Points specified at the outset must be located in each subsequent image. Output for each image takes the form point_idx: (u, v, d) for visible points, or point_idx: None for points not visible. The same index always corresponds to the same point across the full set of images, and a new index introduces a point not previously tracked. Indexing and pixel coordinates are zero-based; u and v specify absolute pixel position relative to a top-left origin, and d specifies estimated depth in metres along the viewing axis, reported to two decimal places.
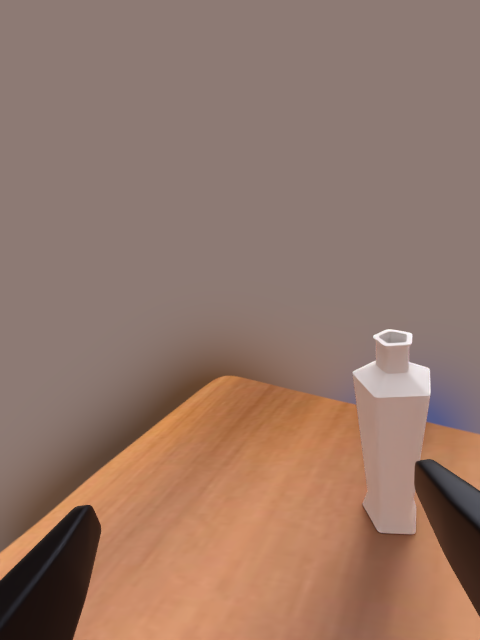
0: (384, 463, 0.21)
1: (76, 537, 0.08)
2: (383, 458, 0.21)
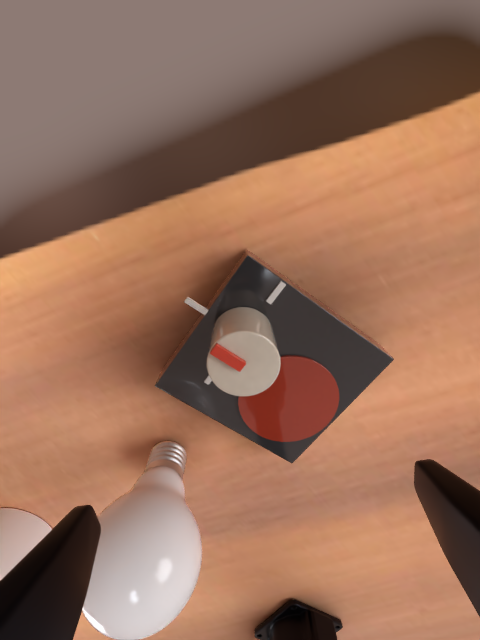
0: None
1: (76, 537, 0.08)
2: None
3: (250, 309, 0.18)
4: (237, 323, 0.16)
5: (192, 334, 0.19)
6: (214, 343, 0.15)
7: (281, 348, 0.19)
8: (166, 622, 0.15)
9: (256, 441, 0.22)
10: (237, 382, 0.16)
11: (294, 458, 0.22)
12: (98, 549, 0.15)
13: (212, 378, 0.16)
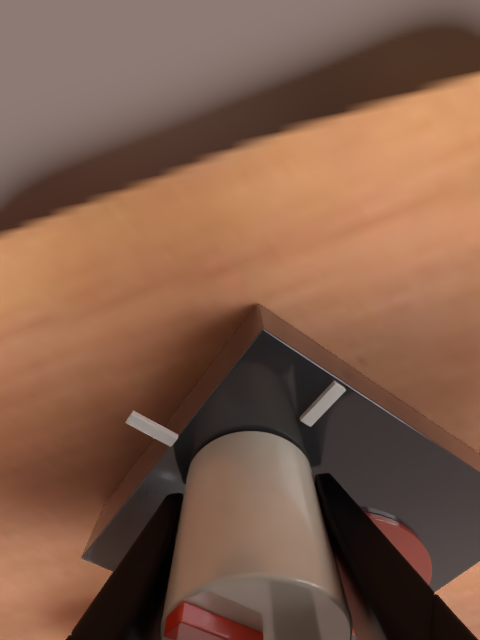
0: None
1: (177, 524, 0.08)
2: None
3: (267, 440, 0.08)
4: (241, 520, 0.06)
5: (147, 476, 0.09)
6: (178, 596, 0.06)
7: None
8: None
9: None
10: None
11: None
12: None
13: None
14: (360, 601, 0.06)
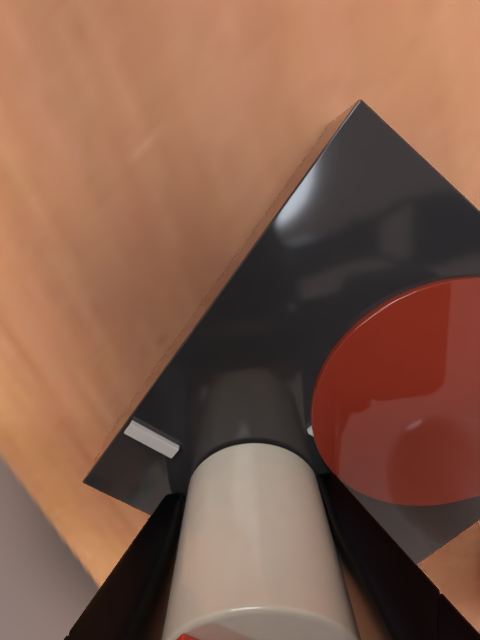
0: None
1: (175, 524, 0.08)
2: None
3: (273, 453, 0.08)
4: (245, 544, 0.06)
5: None
6: (177, 627, 0.05)
7: (289, 423, 0.08)
8: None
9: None
10: None
11: None
12: None
13: None
14: (365, 601, 0.06)
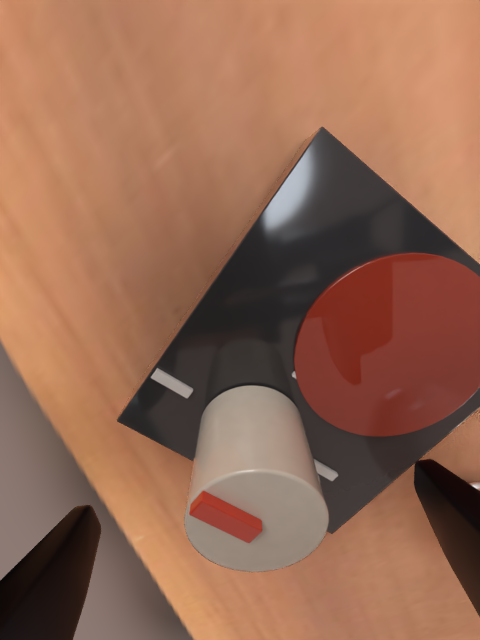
0: None
1: (76, 537, 0.08)
2: None
3: (265, 391, 0.10)
4: (245, 440, 0.08)
5: None
6: (199, 489, 0.08)
7: (278, 369, 0.11)
8: None
9: (479, 404, 0.11)
10: (244, 552, 0.08)
11: None
12: None
13: (195, 546, 0.08)
14: None
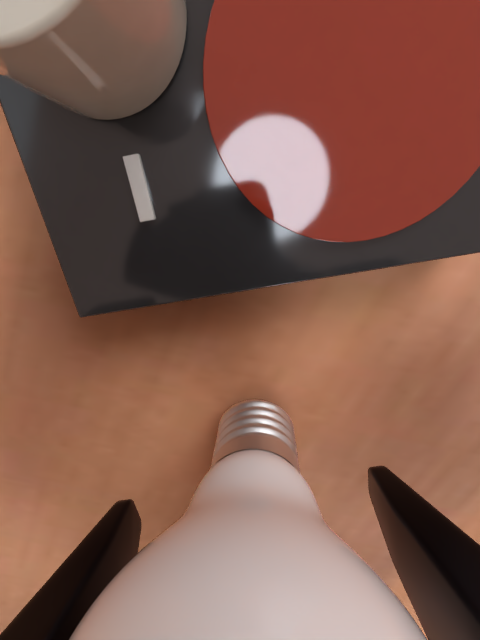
0: None
1: (122, 531, 0.08)
2: None
3: None
4: None
5: (14, 134, 0.07)
6: None
7: None
8: None
9: (376, 263, 0.08)
10: None
11: None
12: None
13: None
14: (440, 592, 0.06)
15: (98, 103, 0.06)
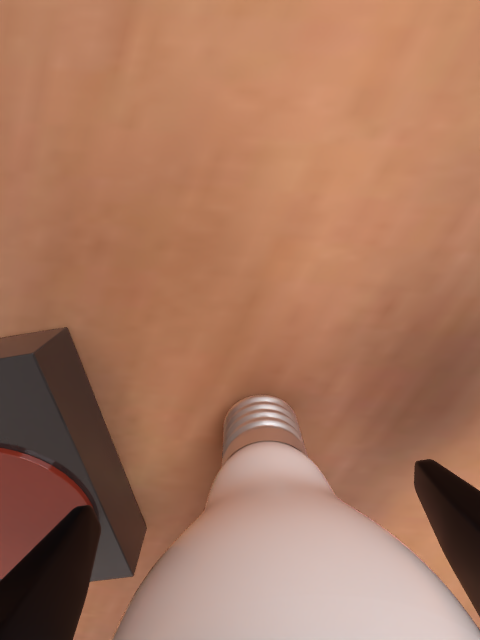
0: None
1: (76, 537, 0.08)
2: None
3: None
4: None
5: None
6: None
7: None
8: None
9: None
10: None
11: (127, 569, 0.13)
12: None
13: None
14: None
15: None
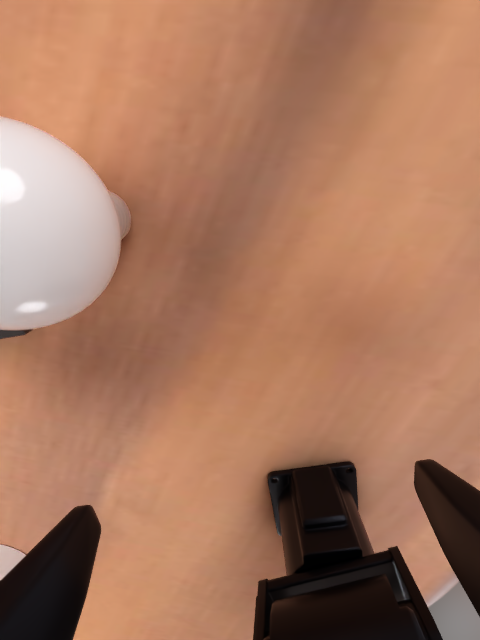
0: None
1: (76, 537, 0.08)
2: None
3: None
4: None
5: None
6: None
7: None
8: (4, 205, 0.08)
9: None
10: None
11: None
12: None
13: None
14: None
15: None
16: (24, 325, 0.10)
